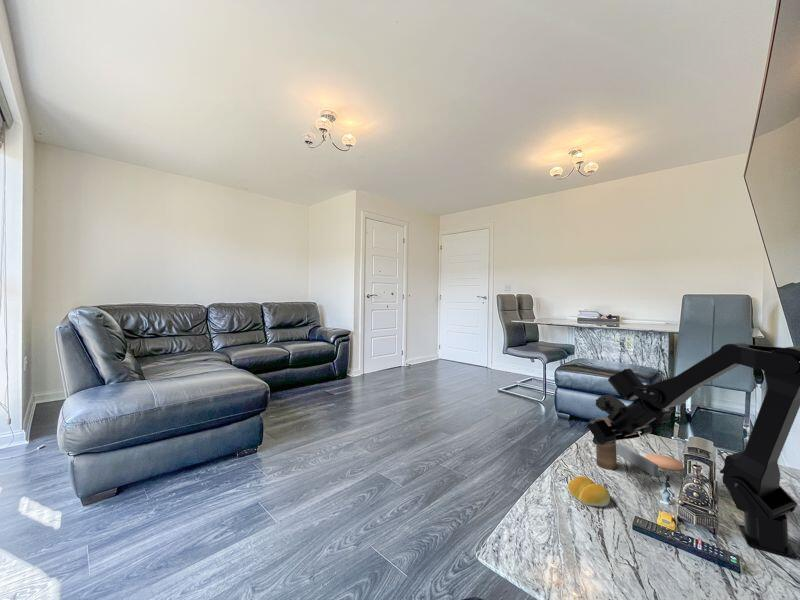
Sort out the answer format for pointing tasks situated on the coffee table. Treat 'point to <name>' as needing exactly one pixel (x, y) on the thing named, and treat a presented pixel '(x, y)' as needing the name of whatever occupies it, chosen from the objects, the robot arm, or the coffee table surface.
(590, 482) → the bread roll
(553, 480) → the coffee table surface
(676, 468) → the terracotta coaster
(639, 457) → the grey acrylic wall
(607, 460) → the walnut pin
